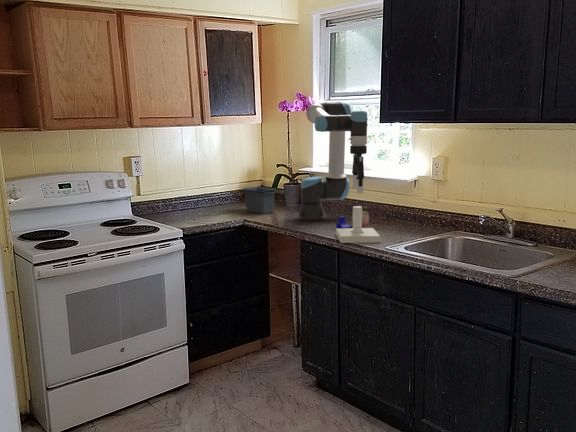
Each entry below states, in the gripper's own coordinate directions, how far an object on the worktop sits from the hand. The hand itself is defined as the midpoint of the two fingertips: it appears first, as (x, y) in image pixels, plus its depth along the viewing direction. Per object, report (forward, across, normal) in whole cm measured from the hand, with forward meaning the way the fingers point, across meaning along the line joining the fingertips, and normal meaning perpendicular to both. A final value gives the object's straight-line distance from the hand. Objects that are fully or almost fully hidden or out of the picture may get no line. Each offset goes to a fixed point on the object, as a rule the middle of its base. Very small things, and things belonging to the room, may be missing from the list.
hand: (357, 191), depth 257 cm
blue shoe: (+23, -20, -2) cm, 31 cm away
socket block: (+22, 0, 0) cm, 22 cm away
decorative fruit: (+23, -23, +5) cm, 33 cm away
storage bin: (+24, -76, -47) cm, 93 cm away
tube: (+23, 0, 0) cm, 23 cm away
